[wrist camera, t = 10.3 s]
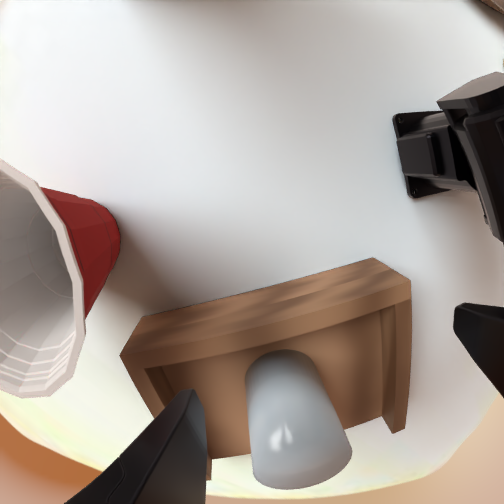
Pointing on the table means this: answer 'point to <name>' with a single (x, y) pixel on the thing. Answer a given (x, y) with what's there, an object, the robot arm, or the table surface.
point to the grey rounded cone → (292, 423)
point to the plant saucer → (495, 4)
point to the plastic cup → (47, 280)
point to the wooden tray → (283, 337)
